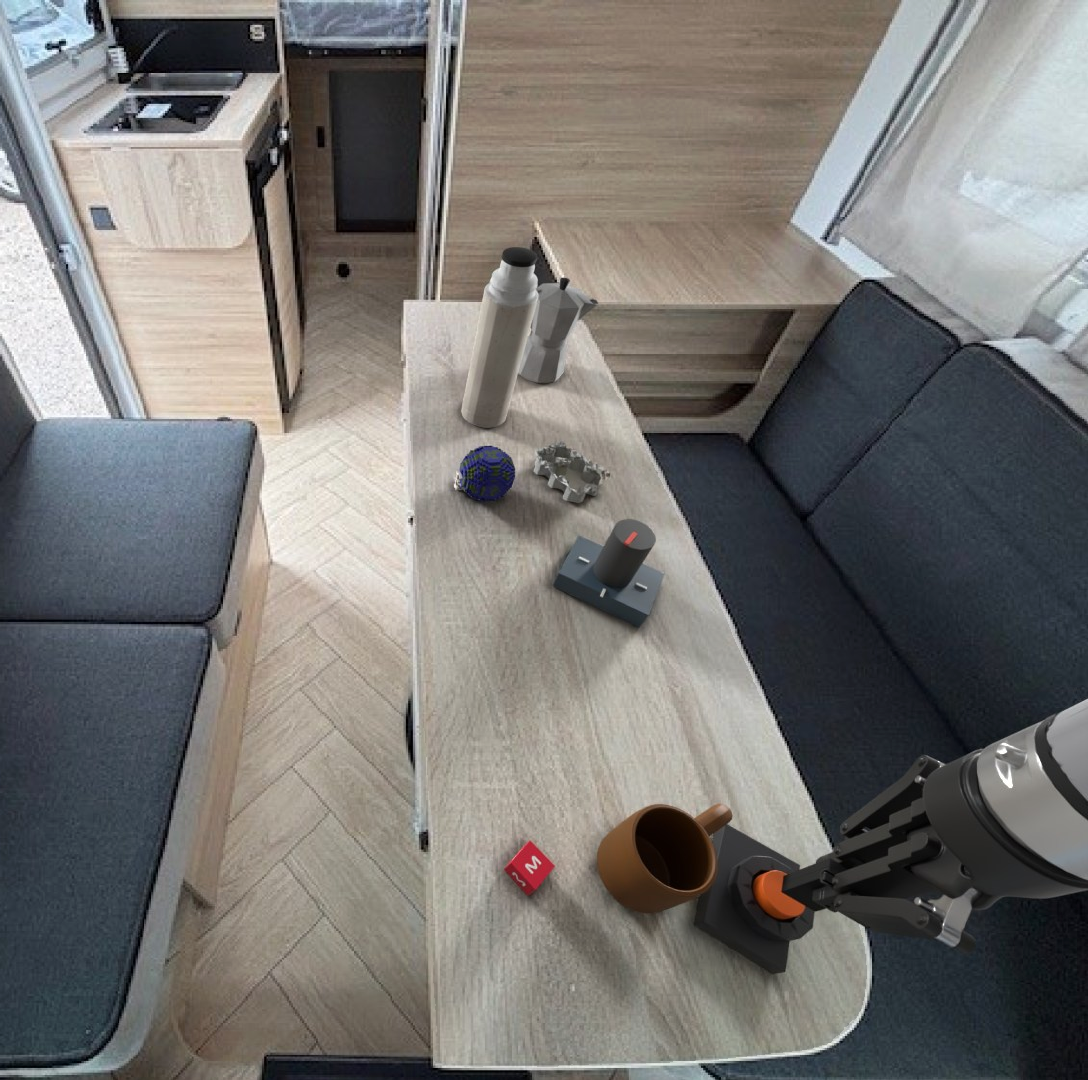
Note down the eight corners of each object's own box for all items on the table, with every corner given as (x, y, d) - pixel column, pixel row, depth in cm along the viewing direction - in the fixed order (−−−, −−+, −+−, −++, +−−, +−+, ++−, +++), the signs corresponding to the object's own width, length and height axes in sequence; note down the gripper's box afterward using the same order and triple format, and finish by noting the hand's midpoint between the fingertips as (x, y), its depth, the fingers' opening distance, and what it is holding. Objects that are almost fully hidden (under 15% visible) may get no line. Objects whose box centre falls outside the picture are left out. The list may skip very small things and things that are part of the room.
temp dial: (604, 552, 81) (626, 511, 74) (638, 572, 79) (664, 532, 72) (586, 573, 78) (607, 532, 72) (620, 594, 76) (645, 554, 70)
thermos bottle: (487, 395, 108) (524, 236, 86) (515, 419, 103) (561, 259, 82) (452, 407, 105) (480, 247, 84) (479, 433, 101) (516, 271, 79)
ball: (460, 510, 89) (468, 473, 83) (451, 475, 94) (458, 438, 88) (512, 508, 90) (524, 471, 84) (500, 473, 94) (510, 436, 89)
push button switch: (795, 874, 59) (820, 865, 55) (780, 979, 53) (807, 976, 50) (714, 828, 61) (734, 817, 58) (692, 924, 56) (713, 918, 52)
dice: (522, 847, 59) (530, 839, 57) (546, 872, 58) (555, 865, 56) (503, 869, 58) (510, 862, 56) (527, 895, 57) (535, 889, 54)
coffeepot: (574, 362, 115) (605, 271, 102) (572, 390, 110) (605, 297, 96) (495, 349, 118) (516, 258, 104) (489, 375, 112) (510, 283, 98)
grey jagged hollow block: (605, 494, 92) (614, 475, 89) (568, 509, 90) (576, 490, 87) (561, 452, 98) (569, 433, 95) (525, 465, 96) (532, 446, 93)
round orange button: (796, 889, 54) (808, 885, 53) (791, 928, 52) (803, 925, 51) (755, 865, 56) (766, 861, 54) (749, 903, 54) (759, 899, 52)
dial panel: (657, 583, 81) (666, 569, 79) (638, 631, 76) (648, 618, 74) (573, 545, 85) (580, 531, 83) (550, 589, 80) (557, 575, 78)
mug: (664, 795, 63) (706, 764, 56) (721, 866, 59) (774, 843, 52) (578, 852, 59) (611, 826, 52) (632, 932, 55) (676, 917, 48)
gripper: (962, 687, 38) (764, 802, 56) (971, 879, 31) (740, 941, 49) (1109, 750, 36) (852, 849, 53) (1156, 975, 28) (841, 1003, 46)
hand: (799, 893), depth 51 cm, fingers closed
